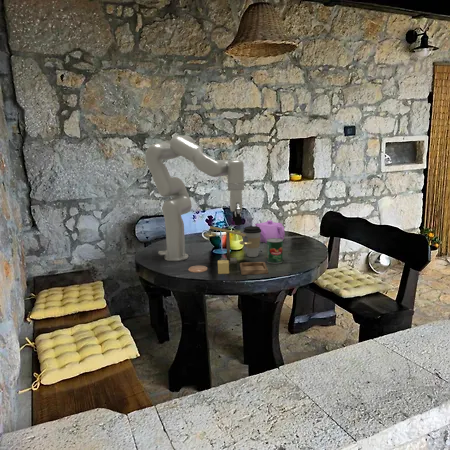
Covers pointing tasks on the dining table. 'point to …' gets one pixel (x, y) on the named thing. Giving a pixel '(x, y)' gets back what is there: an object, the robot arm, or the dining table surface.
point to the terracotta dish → (197, 269)
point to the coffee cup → (252, 240)
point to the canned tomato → (274, 250)
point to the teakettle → (270, 230)
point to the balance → (244, 242)
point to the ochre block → (223, 267)
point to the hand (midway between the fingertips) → (237, 223)
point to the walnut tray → (253, 268)
